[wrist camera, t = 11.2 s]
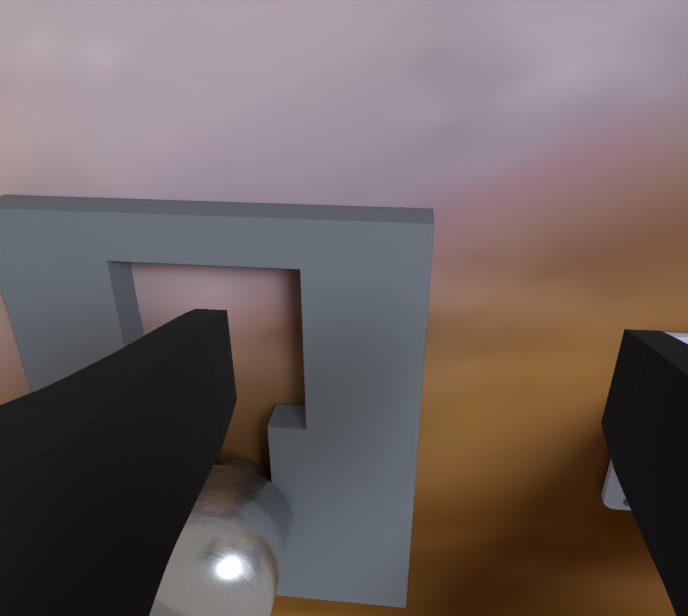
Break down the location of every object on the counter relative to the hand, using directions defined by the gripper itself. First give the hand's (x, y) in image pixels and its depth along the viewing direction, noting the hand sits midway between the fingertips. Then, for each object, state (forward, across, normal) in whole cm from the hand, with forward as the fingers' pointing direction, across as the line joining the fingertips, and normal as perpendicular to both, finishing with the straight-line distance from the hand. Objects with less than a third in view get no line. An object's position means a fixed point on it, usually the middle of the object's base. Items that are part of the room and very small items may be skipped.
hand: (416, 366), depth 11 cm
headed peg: (+9, +7, +13) cm, 17 cm away
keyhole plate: (+9, +7, +9) cm, 15 cm away
